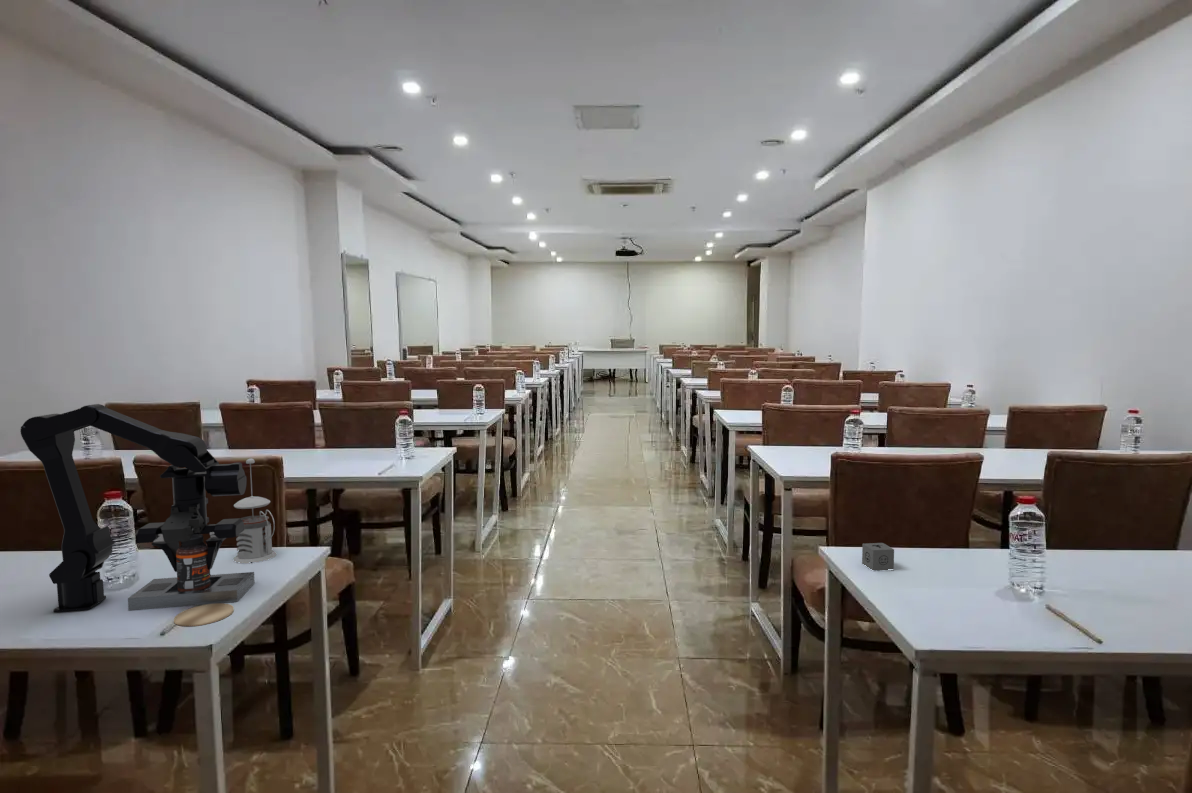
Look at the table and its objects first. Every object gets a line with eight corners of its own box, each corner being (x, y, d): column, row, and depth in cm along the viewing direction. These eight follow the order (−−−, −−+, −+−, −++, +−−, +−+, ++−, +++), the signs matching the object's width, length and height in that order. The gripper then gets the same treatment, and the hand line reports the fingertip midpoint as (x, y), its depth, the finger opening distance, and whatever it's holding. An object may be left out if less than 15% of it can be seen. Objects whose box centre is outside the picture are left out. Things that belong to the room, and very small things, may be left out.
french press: (259, 548, 168) (255, 454, 166) (290, 554, 163) (286, 457, 161) (223, 560, 159) (218, 460, 157) (254, 566, 154) (249, 463, 152)
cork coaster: (164, 628, 120) (164, 626, 120) (187, 607, 130) (187, 605, 130) (223, 623, 122) (222, 621, 122) (241, 603, 132) (241, 601, 132)
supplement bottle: (195, 595, 132) (192, 541, 131) (170, 593, 133) (167, 540, 133) (217, 585, 138) (215, 533, 137) (194, 583, 139) (191, 531, 138)
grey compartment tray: (128, 610, 129) (127, 598, 128) (154, 590, 139) (153, 578, 139) (237, 601, 132) (236, 589, 132) (254, 582, 143) (254, 571, 143)
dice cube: (882, 563, 153) (882, 542, 153) (893, 570, 148) (894, 549, 148) (862, 564, 153) (862, 543, 152) (872, 571, 148) (873, 550, 147)
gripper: (119, 509, 125) (123, 587, 126) (224, 504, 128) (228, 580, 129) (146, 496, 135) (151, 568, 137) (243, 492, 139) (246, 562, 140)
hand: (193, 570), depth 135 cm, fingers closed on supplement bottle, 6 cm apart
